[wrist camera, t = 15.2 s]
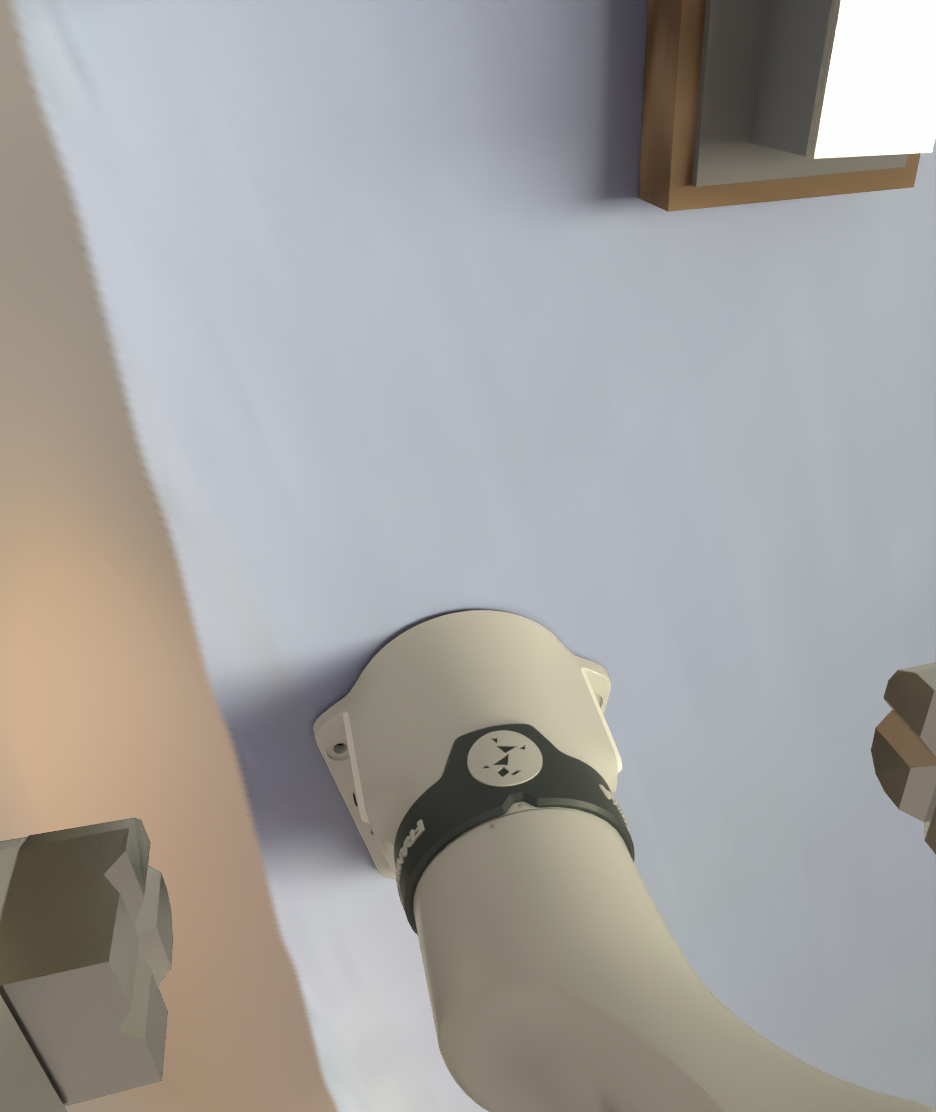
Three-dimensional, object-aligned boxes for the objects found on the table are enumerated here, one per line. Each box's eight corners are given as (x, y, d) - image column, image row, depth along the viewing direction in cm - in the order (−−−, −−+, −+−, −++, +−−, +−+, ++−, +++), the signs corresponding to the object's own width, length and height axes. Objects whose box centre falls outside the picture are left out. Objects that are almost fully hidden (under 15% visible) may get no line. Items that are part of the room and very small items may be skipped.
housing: (907, -123, 33) (1001, -143, 29) (856, 137, 38) (931, 152, 34) (787, -124, 33) (866, -145, 28) (750, 143, 37) (813, 158, 33)
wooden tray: (868, 175, 43) (920, 188, 40) (638, 197, 42) (672, 213, 38) (934, -193, 36) (1004, -215, 33) (657, -186, 34) (702, -208, 31)
